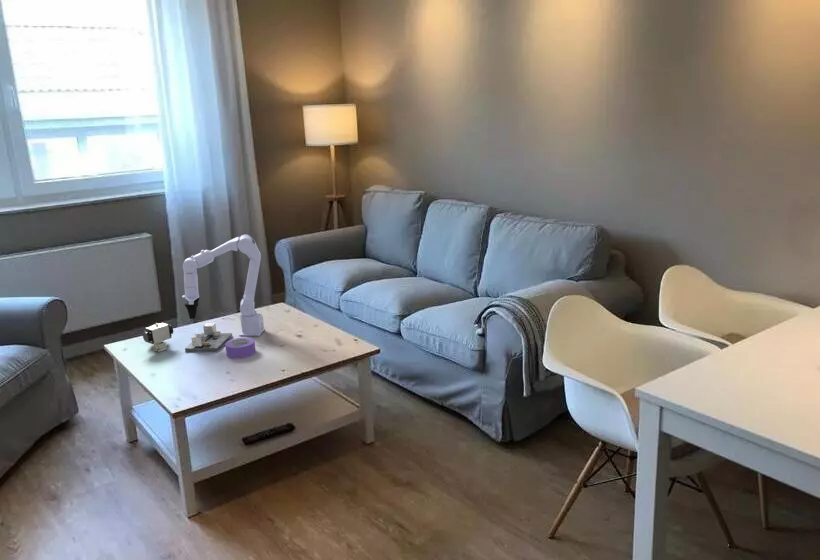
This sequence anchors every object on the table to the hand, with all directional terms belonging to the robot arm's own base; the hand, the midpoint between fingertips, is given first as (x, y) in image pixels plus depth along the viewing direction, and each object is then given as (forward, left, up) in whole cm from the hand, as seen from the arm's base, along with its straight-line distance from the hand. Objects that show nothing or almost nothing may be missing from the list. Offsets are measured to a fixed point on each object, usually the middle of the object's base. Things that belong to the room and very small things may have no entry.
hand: (193, 315), depth 303 cm
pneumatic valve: (+11, +13, -11) cm, 20 cm away
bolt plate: (-8, +6, -11) cm, 15 cm away
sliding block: (-8, -1, -9) cm, 12 cm away
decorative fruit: (+15, +6, -11) cm, 19 cm away
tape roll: (-26, +17, -11) cm, 33 cm away
